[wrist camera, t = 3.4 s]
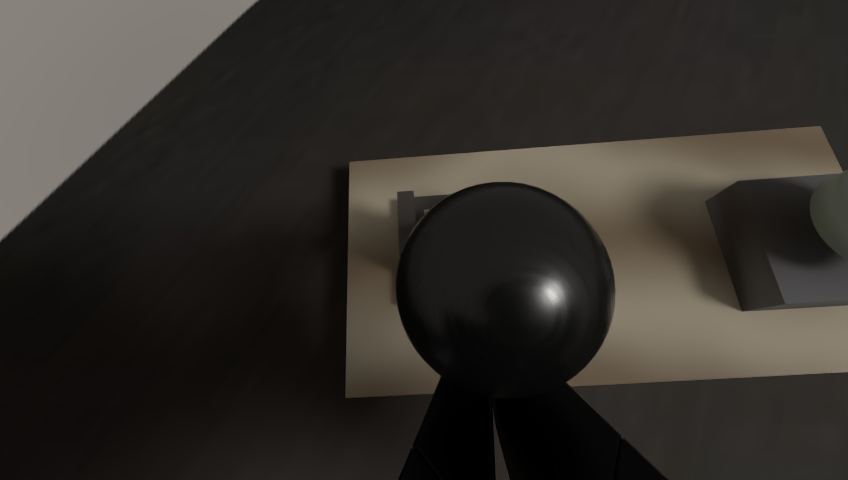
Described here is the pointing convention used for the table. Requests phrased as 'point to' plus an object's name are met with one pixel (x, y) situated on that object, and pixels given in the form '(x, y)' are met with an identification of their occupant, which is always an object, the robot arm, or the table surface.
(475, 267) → the toggle lever
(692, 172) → the switch board
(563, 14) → the table surface
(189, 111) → the table surface
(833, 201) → the push button
